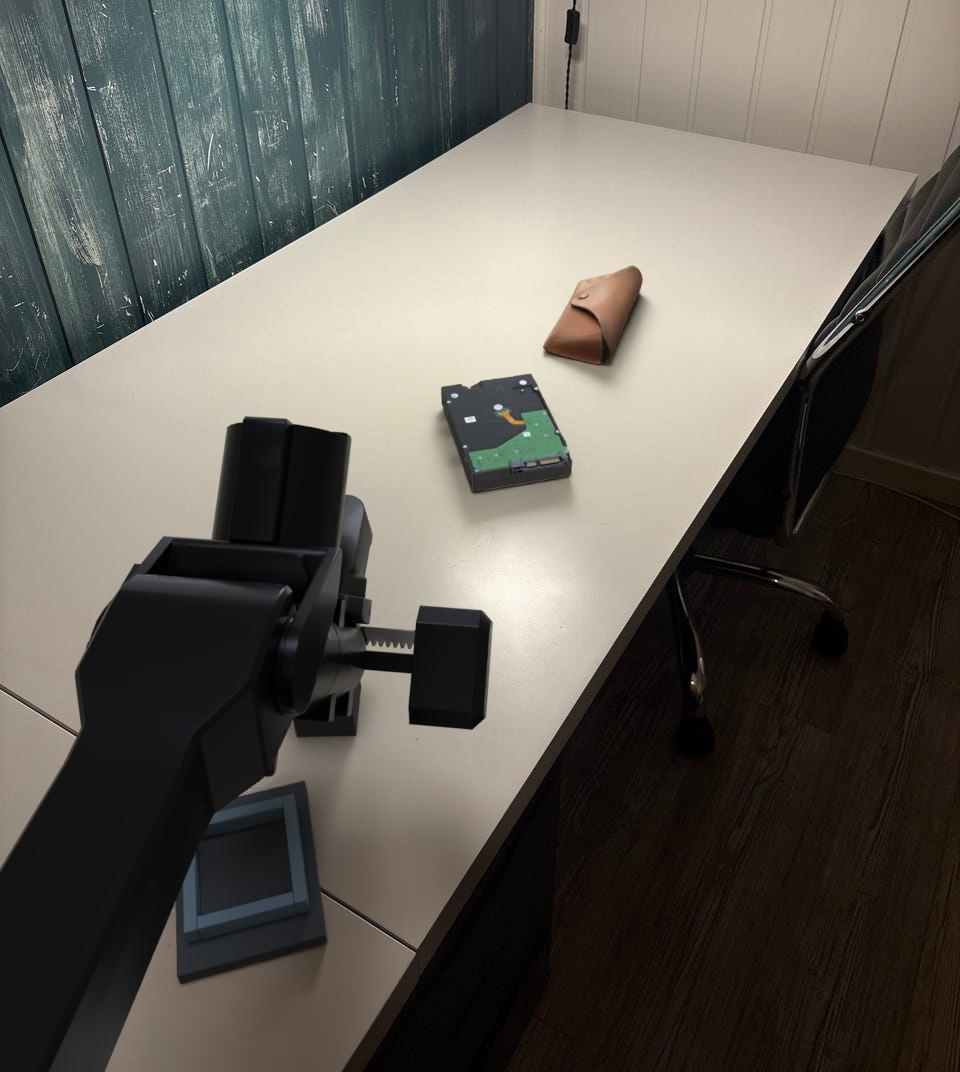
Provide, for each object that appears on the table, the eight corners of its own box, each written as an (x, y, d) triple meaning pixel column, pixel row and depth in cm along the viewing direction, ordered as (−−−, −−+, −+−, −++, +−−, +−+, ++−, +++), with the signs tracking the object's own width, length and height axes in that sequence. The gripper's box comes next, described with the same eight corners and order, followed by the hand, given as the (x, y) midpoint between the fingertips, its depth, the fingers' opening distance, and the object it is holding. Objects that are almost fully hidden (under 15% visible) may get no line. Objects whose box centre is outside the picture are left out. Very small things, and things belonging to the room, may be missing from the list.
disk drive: (439, 407, 103) (472, 495, 92) (438, 386, 101) (471, 473, 90) (530, 392, 105) (574, 476, 94) (531, 371, 103) (575, 454, 92)
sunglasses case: (577, 277, 123) (606, 241, 119) (620, 308, 124) (651, 273, 120) (539, 351, 110) (570, 313, 106) (588, 385, 111) (621, 349, 106)
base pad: (327, 942, 59) (323, 924, 58) (180, 983, 58) (171, 966, 56) (306, 787, 68) (301, 768, 66) (176, 819, 66) (169, 799, 64)
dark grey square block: (356, 735, 71) (339, 631, 64) (296, 737, 71) (272, 633, 63) (361, 685, 75) (345, 581, 67) (304, 686, 74) (282, 582, 67)
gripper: (490, 499, 45) (506, 538, 61) (117, 475, 47) (223, 519, 62) (472, 742, 43) (493, 719, 58) (79, 707, 45) (199, 693, 60)
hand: (349, 655), depth 60 cm, fingers open, 9 cm apart
